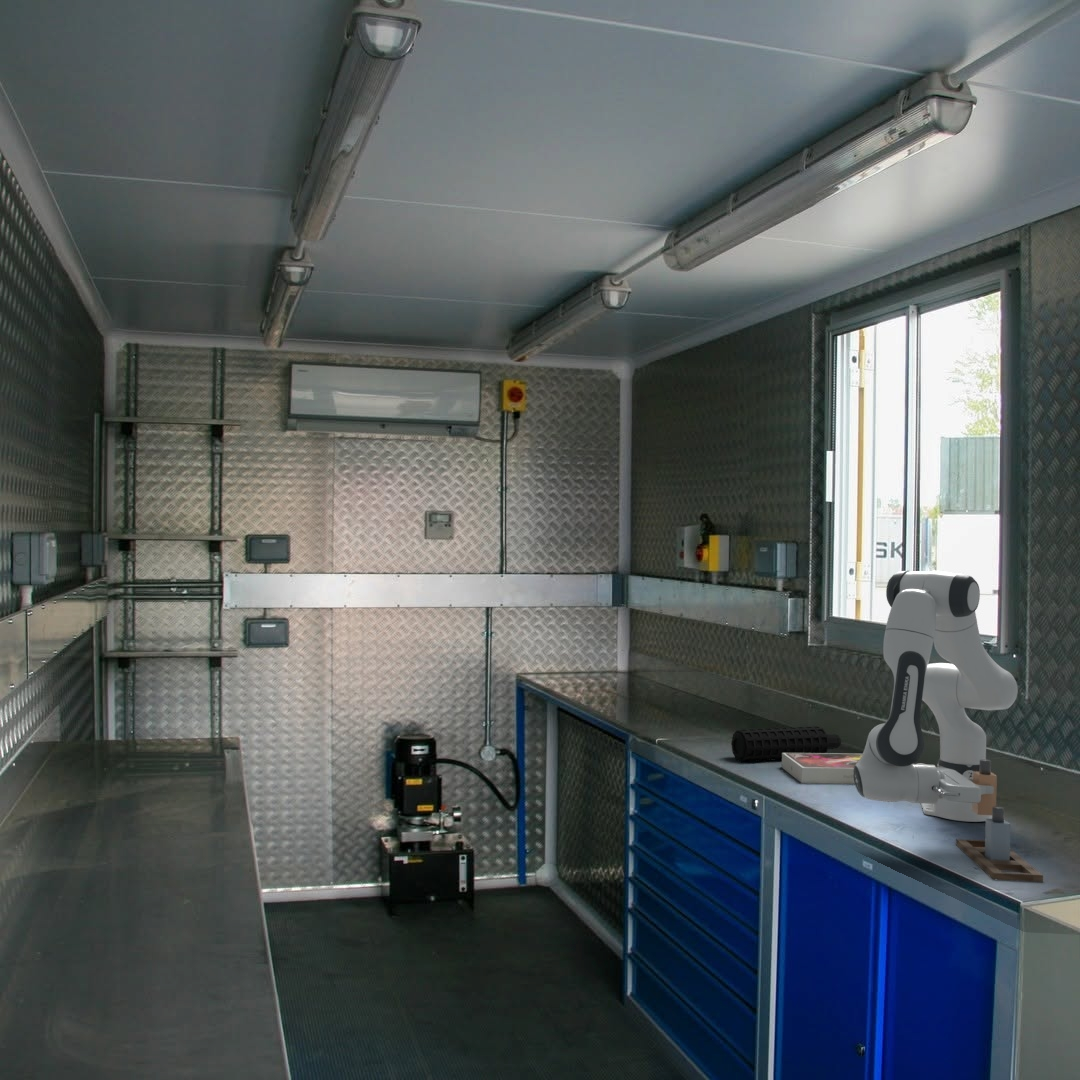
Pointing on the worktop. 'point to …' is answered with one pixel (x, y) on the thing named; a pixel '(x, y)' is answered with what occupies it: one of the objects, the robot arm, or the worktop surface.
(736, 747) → the roller
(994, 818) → the slate plug
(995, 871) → the plug dock
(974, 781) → the terracotta plug
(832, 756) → the product packaging
